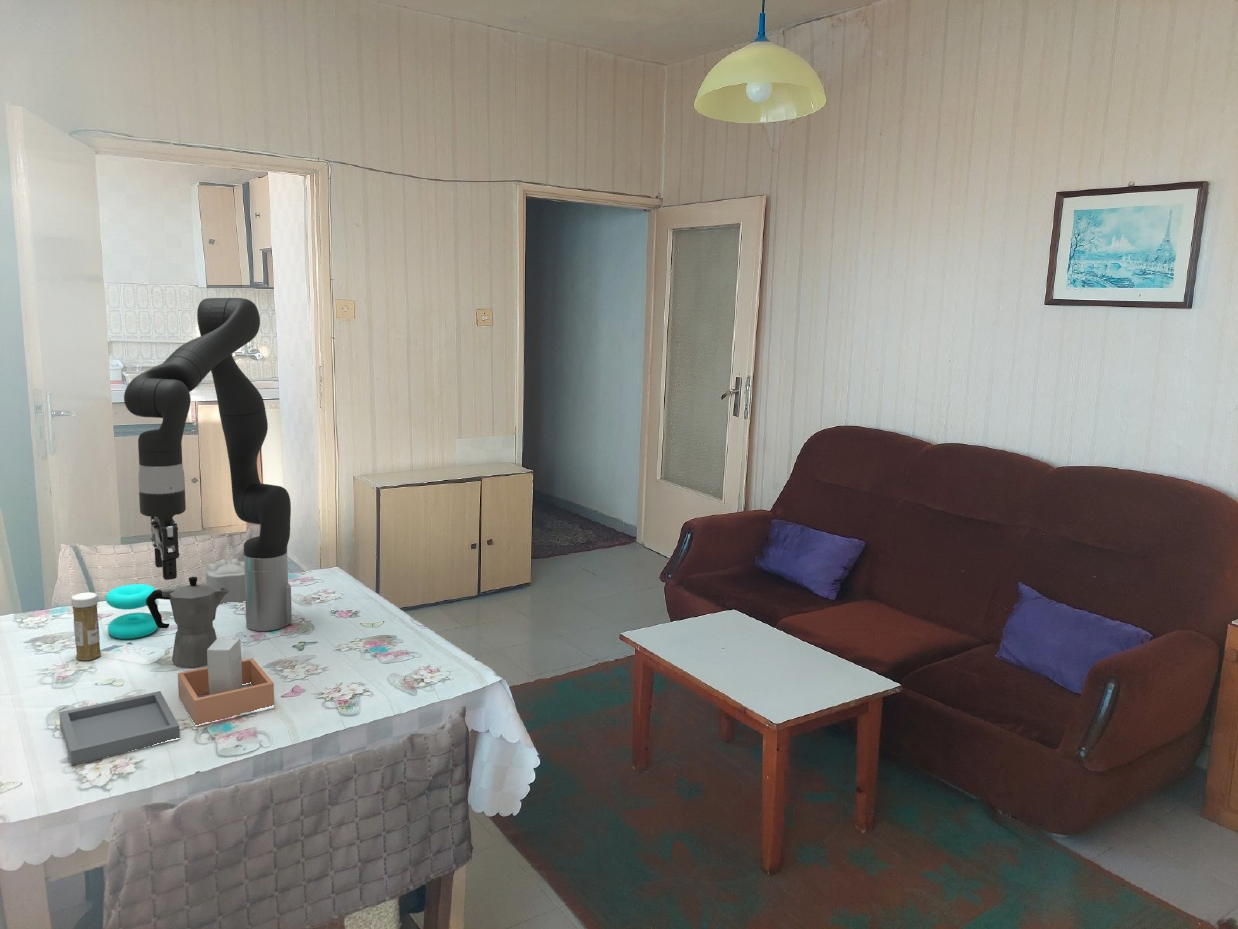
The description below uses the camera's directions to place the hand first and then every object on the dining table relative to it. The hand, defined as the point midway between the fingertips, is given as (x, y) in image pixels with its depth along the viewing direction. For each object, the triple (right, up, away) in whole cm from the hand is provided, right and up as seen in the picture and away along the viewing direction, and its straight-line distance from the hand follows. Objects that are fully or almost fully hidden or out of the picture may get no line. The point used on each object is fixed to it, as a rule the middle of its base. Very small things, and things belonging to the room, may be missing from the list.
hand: (165, 572), depth 164 cm
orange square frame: (+10, -25, +2) cm, 27 cm away
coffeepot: (-5, -21, +20) cm, 29 cm away
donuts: (-24, -18, +32) cm, 44 cm away
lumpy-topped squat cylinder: (-14, -13, +59) cm, 62 cm away
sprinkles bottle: (-26, -20, +19) cm, 38 cm away
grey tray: (-3, -27, -11) cm, 29 cm away
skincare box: (+10, -25, +2) cm, 27 cm away
